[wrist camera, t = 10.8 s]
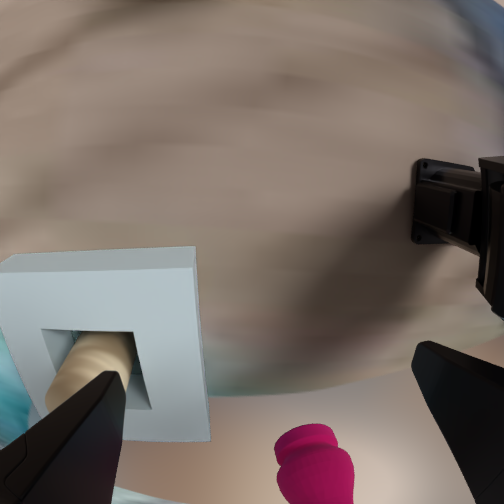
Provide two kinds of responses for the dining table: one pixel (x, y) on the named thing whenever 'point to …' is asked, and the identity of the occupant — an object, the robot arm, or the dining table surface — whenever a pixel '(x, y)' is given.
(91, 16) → the dining table surface
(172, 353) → the socket block
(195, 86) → the dining table surface
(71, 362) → the birch peg
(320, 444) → the pepper mill
